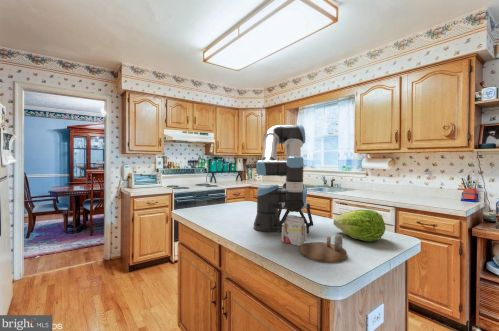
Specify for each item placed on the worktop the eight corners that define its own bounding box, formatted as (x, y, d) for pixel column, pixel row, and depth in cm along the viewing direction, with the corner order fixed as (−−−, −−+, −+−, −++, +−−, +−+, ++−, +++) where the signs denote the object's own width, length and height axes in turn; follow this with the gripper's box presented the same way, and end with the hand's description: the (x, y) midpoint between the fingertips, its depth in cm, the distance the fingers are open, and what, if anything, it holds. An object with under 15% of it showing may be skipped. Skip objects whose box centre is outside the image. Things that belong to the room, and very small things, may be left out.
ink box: (282, 242, 115) (282, 216, 115) (288, 239, 119) (288, 214, 118) (299, 246, 110) (300, 219, 109) (304, 243, 114) (305, 217, 113)
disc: (302, 261, 94) (302, 241, 94) (298, 244, 112) (298, 227, 112) (352, 264, 92) (352, 243, 92) (340, 246, 110) (341, 229, 110)
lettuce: (346, 229, 138) (341, 204, 138) (393, 236, 118) (387, 206, 118) (327, 240, 128) (322, 213, 128) (375, 249, 108) (369, 216, 108)
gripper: (269, 191, 111) (268, 241, 112) (321, 192, 108) (320, 244, 109) (270, 189, 119) (269, 236, 119) (318, 190, 116) (317, 238, 117)
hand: (293, 240), depth 114 cm, fingers closed on ink box, 9 cm apart
